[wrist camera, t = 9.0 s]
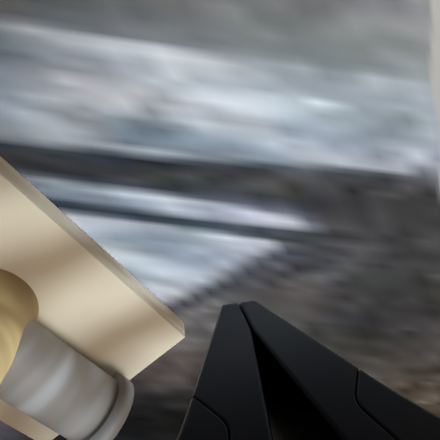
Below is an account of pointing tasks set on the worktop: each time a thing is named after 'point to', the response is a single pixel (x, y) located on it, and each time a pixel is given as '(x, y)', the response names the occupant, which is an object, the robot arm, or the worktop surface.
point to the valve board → (68, 323)
